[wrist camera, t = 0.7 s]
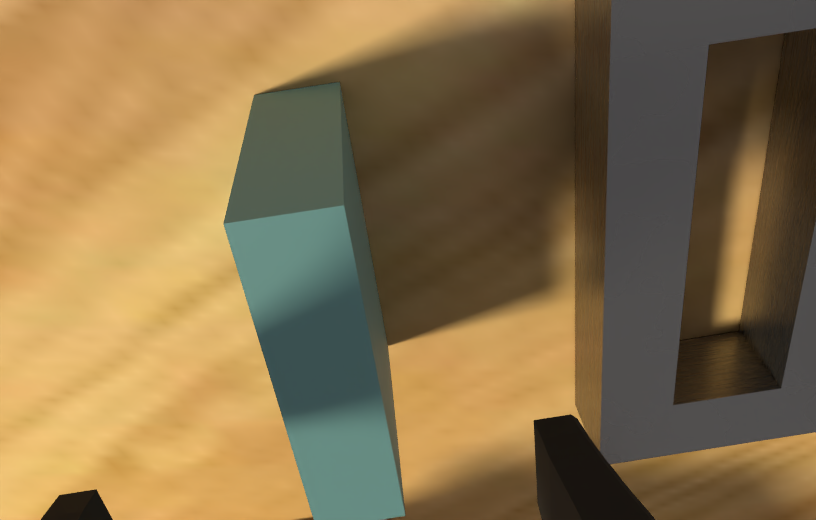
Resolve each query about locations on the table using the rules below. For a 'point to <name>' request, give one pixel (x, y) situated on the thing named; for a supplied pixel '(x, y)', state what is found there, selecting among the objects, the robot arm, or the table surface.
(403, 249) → the table surface
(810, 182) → the rack
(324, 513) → the panel
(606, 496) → the robot arm
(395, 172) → the table surface
